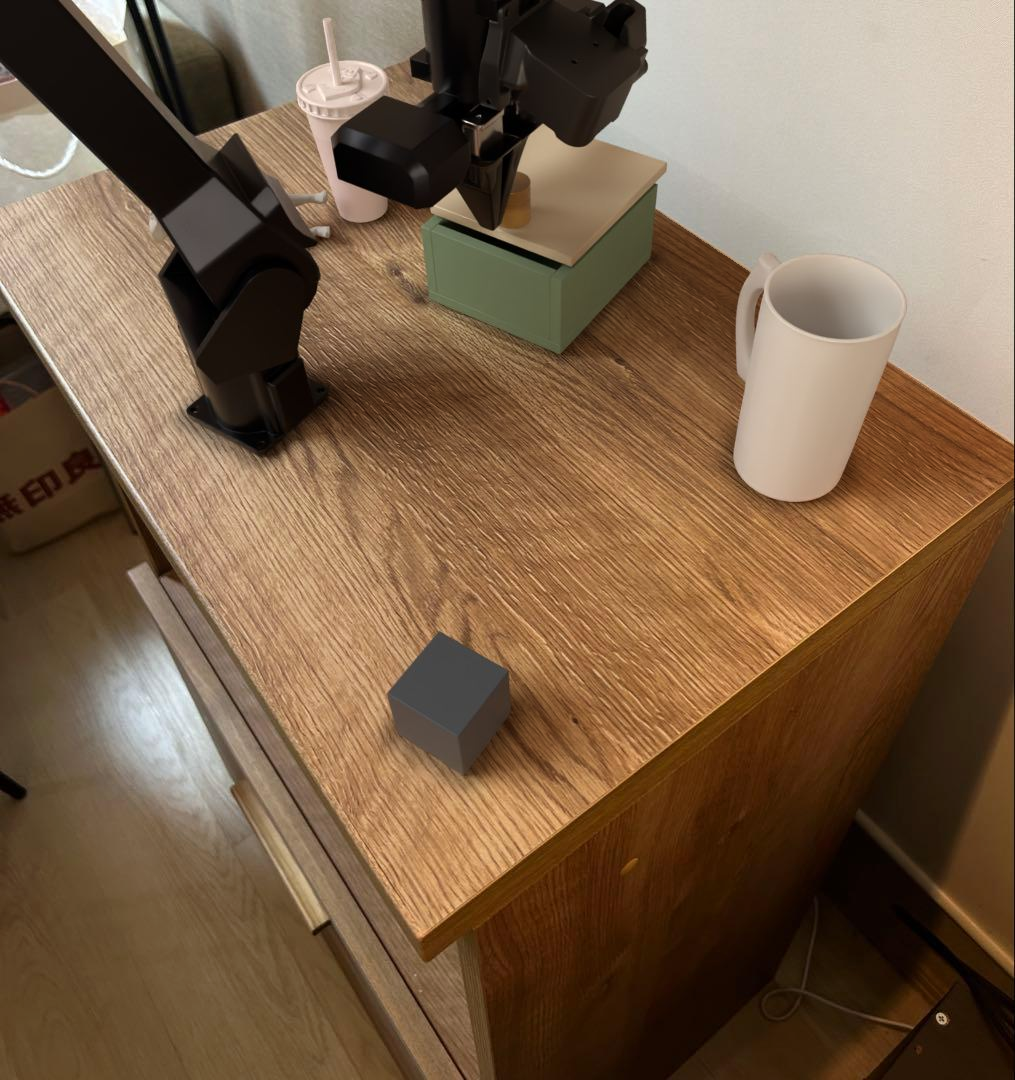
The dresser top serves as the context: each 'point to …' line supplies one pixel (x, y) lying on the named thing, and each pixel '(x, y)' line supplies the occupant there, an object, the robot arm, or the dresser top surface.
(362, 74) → the smoothie
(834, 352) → the mug
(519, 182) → the slide lid
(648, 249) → the box
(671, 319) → the dresser top surface
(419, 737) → the block
